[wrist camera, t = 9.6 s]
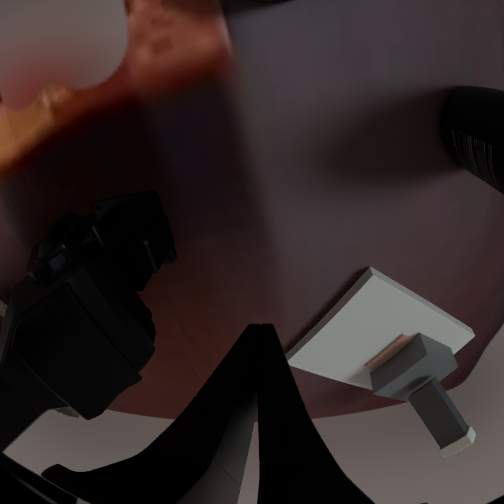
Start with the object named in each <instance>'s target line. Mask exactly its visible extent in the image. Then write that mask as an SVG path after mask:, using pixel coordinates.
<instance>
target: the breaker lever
mask: <svg viewBox="0 0 504 504" xmlns="http://www.w3.org/2000/svg"><path fill="white" fill-rule="evenodd" d="M408 400H409V401H410V403H411V404H412V406H413V407H414V409H415V410H416V412H417V413H418V414H419V416H420V417H421V419H422V421H423V422H424V424H425V425H426V427H427V428H428V429H429V431H430V433H431V434H432V435H433V437H434V439H435V440H436V442H437V443H438V445H439V446H440V449H439V452H440V453H441V455H442V456H443V458H444V459H446V458H448V457H450V456H452V455H454V454H456V453H458V452H459V451H461V450H463V449H465V448H466V447H468V446H470V445H472V444H473V442H474V438H475V435H476V434H475V432H474V430H473V429H472V427H471V426H469V427H468V426H467V424H466V422H465V421H464V420H463V418H462V416H461V415H460V413H459V411H458V410H457V408H456V407H455V406H454V404H453V402H452V401H451V399H450V398H449V396H448V395H447V394H446V392H445V390H444V389H443V387H442V386H441V384H440V383H439V381H438V380H437V379H436V377H434V378H433V379H431V380H430V381H429V382H427V383H426V384H424V385H423V386H422V387H420V388H419V389H417V390H416V391H414V392H413V393H412V394H411V395H410V396H409V397H408Z"/></svg>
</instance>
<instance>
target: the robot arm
mask: <svg viewBox="0 0 504 504" xmlns="http://www.w3.org/2000/svg"><path fill="white" fill-rule="evenodd" d="M151 195H152V196H154V198H155V199H152V198H151ZM98 205H99V206H100V208H99V207H98ZM93 208H94V211H95V214H96V216H95V214H94V213H92V214H90V215H87V216H83V217H80V216H77V215H75V214H74V213H72V212H68V213H66V214H65V215H63V216H62V217H61V218H60V219H59V220H57V221H56V222H55V223H54V224H53V225H52V226H51V227H50V228H49V229H48V230H47V232H46V234H45V235H44V236H43V238H42V240H41V241H40V242H38V243H37V244H36V245H35V246H34V247H33V249H32V252H31V256H30V259H29V262H28V266H27V269H26V270H27V273H28V275H27V276H26V277H25V278H24V279H23V280H22V281H21V282H20V283H18V284H17V285H16V286H15V287H14V288H13V290H12V292H11V295H10V298H9V302H8V305H7V309H6V312H5V316H4V320H3V324H2V328H1V332H0V504H237V501H238V497H239V493H240V488H241V487H240V486H241V483H242V479H243V475H244V469H245V465H246V460H247V456H248V450H249V446H250V441H251V437H252V432H253V427H254V422H255V416H256V411H257V406H258V432H259V461H260V465H259V467H260V474H259V489H258V500H257V504H375V503H374V502H373V501H372V500H371V499H370V498H369V497H368V496H367V495H366V494H365V493H363V492H362V491H361V490H360V489H359V488H358V487H357V486H356V485H355V484H354V483H353V482H352V481H351V480H350V479H349V478H348V477H347V476H346V475H345V473H344V472H343V471H342V470H341V468H340V467H339V465H338V464H337V462H336V461H335V459H334V458H333V456H332V454H331V453H330V452H329V449H328V448H327V446H326V445H325V443H324V441H323V440H322V438H321V436H320V435H319V433H318V431H317V429H316V428H315V426H314V424H313V422H312V420H311V418H310V415H309V413H308V411H307V409H306V406H305V403H304V401H303V400H302V396H301V394H300V391H299V389H298V386H297V383H296V381H295V378H294V376H293V373H292V371H291V368H290V366H289V363H288V361H287V358H286V355H285V353H284V350H283V348H282V345H281V343H280V340H279V338H278V335H277V332H276V330H275V327H274V325H273V324H262V325H260V324H249V325H248V326H247V327H246V329H245V330H244V331H243V333H242V334H241V335H240V337H239V338H238V340H237V341H236V342H235V344H234V345H233V346H232V348H231V349H230V351H229V352H228V353H227V355H226V356H225V357H224V359H223V360H222V361H221V363H220V364H219V365H218V367H217V368H216V369H215V371H214V372H213V373H212V375H211V376H210V377H209V379H208V380H207V381H206V383H205V384H204V385H203V387H202V388H201V389H200V391H199V392H198V393H197V396H195V397H194V398H193V400H192V401H191V402H190V404H189V405H188V406H187V407H186V408H185V410H184V411H183V412H182V413H181V414H180V415H179V416H178V418H177V419H176V420H175V421H174V422H173V423H172V424H171V425H170V426H169V427H168V428H167V429H166V430H165V431H164V432H163V433H162V434H160V435H159V436H158V438H156V439H155V440H154V441H153V442H152V443H151V444H150V445H149V446H148V447H147V448H146V449H144V450H143V451H142V452H140V453H139V454H137V455H135V456H133V457H131V458H128V459H125V460H122V461H119V462H116V463H113V464H110V465H107V466H104V467H101V468H98V469H94V470H91V471H86V472H75V471H72V470H69V469H68V468H66V467H64V466H62V465H60V464H56V465H53V466H51V467H49V468H47V469H46V470H44V471H43V472H42V473H41V476H42V477H41V476H39V475H38V474H36V473H34V472H33V471H31V470H29V469H28V468H26V467H24V466H23V465H21V464H19V463H18V462H16V461H15V460H13V459H11V458H10V457H8V456H7V455H5V454H4V453H3V452H4V451H5V450H6V449H7V448H8V447H9V446H10V445H11V444H12V443H13V442H14V441H15V440H16V439H17V438H18V437H19V436H20V435H21V434H22V433H23V432H25V431H26V430H27V429H28V428H29V427H30V426H31V425H32V424H33V423H34V422H35V421H36V420H37V419H38V418H39V417H40V416H42V414H44V413H45V412H46V411H48V410H52V409H60V408H67V407H71V408H72V409H73V410H74V411H76V412H77V413H78V414H79V415H81V416H82V417H83V418H85V419H86V420H90V419H92V418H95V417H97V416H99V415H101V414H102V413H103V412H104V411H105V410H106V408H107V407H108V406H109V405H110V404H111V402H112V401H113V400H114V399H115V398H116V397H117V396H118V395H119V394H120V393H121V392H123V391H124V390H125V389H127V388H128V387H130V386H132V385H134V384H136V383H138V382H139V381H141V379H142V377H141V376H140V375H139V374H138V372H140V371H141V370H142V369H143V367H144V366H145V365H146V364H147V363H148V362H149V360H150V359H151V357H152V355H153V353H154V351H155V347H154V346H153V344H154V340H155V335H156V330H155V325H154V323H153V321H152V320H151V318H152V313H151V312H150V310H149V309H148V308H146V306H145V305H144V303H143V302H142V300H141V299H140V297H139V295H138V294H137V292H136V291H143V290H144V288H145V286H146V284H147V283H148V281H149V279H150V277H151V276H152V274H153V273H157V272H158V270H159V268H160V267H161V265H162V263H173V262H174V261H175V260H176V258H177V255H176V251H175V248H174V239H173V236H172V232H171V229H170V225H169V222H168V219H167V216H166V215H165V214H164V211H163V208H162V204H161V201H160V197H159V194H158V193H157V192H156V191H147V192H141V193H135V194H130V195H124V196H119V197H114V198H109V199H104V200H99V201H97V202H95V203H94V205H93ZM96 217H97V218H96ZM97 219H98V220H97ZM169 256H172V258H171V257H169ZM421 504H428V503H421ZM487 504H504V495H502V496H500V497H498V498H496V499H494V500H492V501H490V502H488V503H487Z"/></svg>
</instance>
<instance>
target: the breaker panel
mask: <svg viewBox="0 0 504 504" xmlns="http://www.w3.org/2000/svg"><path fill="white" fill-rule="evenodd" d="M474 336H475V335H474V333H473V331H472V329H471V328H469V327H468V326H466V325H465V324H463V323H462V322H460V321H459V320H457V319H456V318H454V317H452V316H451V315H449V314H448V313H446V312H445V311H443V310H441V309H440V308H438V307H437V306H435V305H433V304H432V303H430V302H429V301H427V300H425V299H424V298H422V297H420V296H419V295H417V294H416V293H414V292H412V291H411V290H409V289H407V288H406V287H404V286H402V285H401V284H399V283H397V282H396V281H394V280H392V279H391V278H389V277H387V276H385V275H384V274H382V273H380V272H379V271H377V270H375V269H373V268H372V267H369V268H368V269H367V270H366V271H365V273H364V274H363V275H362V276H361V277H360V278H359V279H358V280H357V282H356V283H355V284H354V285H353V286H352V287H351V288H350V289H349V290H348V292H347V293H346V294H345V295H344V296H343V297H342V298H341V299H340V300H339V301H338V302H337V303H336V304H335V306H334V307H333V308H332V309H331V310H330V311H329V312H328V313H327V314H326V315H325V316H324V317H323V318H322V319H321V320H320V321H319V322H318V323H317V324H316V325H315V326H314V327H313V328H312V329H311V330H310V331H309V332H308V333H307V334H306V335H305V336H304V337H303V338H302V339H301V340H300V341H299V342H298V343H297V344H296V345H295V346H294V347H293V348H292V349H291V350H290V351H289V352H288V353H287V354H285V355H286V358H287V361H288V363H289V365H291V366H293V367H296V368H299V369H302V370H306V371H309V372H312V373H315V374H318V375H321V376H324V377H328V378H331V379H334V380H338V381H341V382H345V383H348V384H352V385H355V386H359V387H363V388H366V389H370V390H373V394H375V395H380V396H384V397H388V398H393V399H397V400H402V401H406V402H410V401H409V400H408V397H409V396H410V395H411V394H412V393H413V392H414V391H416V390H417V389H419V388H420V387H422V386H423V385H424V384H426V383H427V382H429V381H430V380H431V379H433V378H434V377H436V379H437V380H438V381H441V380H442V379H443V378H445V377H446V376H447V375H449V374H450V373H451V372H452V371H454V370H455V369H456V368H457V367H458V365H457V362H456V360H455V357H454V354H455V353H456V352H457V351H459V350H460V349H461V348H462V347H463V346H464V345H465V344H467V343H468V342H469V341H470V340H471V339H472V338H473V337H474Z"/></svg>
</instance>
